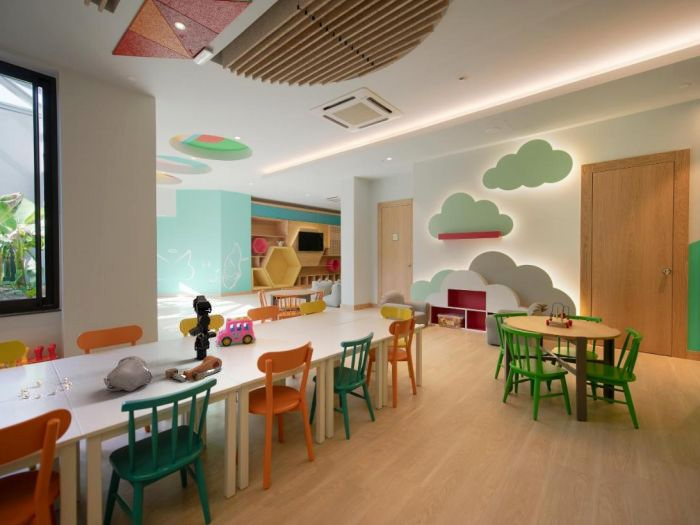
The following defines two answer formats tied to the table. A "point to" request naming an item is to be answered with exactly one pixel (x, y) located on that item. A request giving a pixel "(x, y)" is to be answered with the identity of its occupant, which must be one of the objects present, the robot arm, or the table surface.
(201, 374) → the shaft
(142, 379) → the grey rock
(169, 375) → the hex bolt
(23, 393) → the game piece set
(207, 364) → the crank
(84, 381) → the table surface
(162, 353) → the table surface
